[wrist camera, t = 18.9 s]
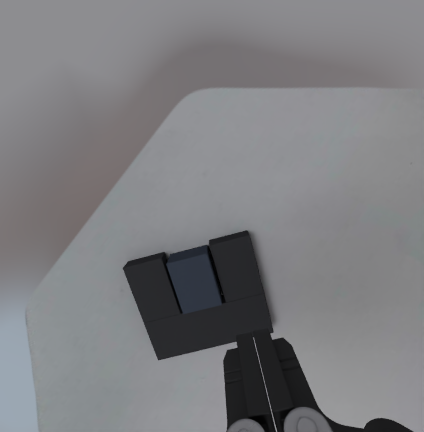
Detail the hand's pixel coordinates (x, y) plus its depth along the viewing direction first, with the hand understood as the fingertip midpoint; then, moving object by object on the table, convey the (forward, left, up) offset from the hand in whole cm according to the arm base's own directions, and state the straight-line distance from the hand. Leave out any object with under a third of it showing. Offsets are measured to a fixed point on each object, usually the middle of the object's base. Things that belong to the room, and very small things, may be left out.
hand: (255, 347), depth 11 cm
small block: (+5, -5, -20) cm, 22 cm away
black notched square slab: (+8, -6, -20) cm, 23 cm away
